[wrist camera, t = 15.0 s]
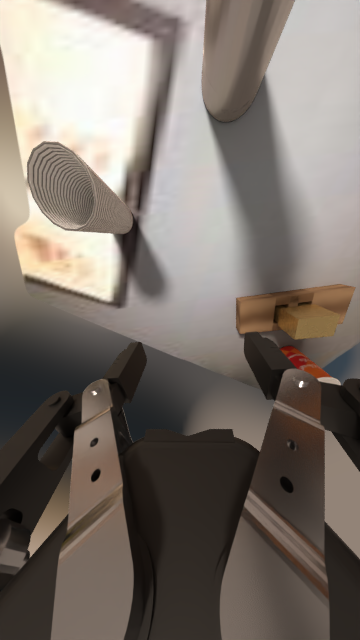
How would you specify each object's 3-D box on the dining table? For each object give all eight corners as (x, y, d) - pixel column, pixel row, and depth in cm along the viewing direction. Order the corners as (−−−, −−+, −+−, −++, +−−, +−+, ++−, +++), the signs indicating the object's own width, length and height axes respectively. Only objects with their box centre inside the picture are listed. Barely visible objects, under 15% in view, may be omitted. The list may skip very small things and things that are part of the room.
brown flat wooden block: (236, 297, 37) (240, 302, 34) (340, 284, 33) (355, 287, 30) (236, 327, 41) (239, 333, 37) (329, 317, 37) (342, 323, 34)
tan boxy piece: (269, 301, 36) (298, 319, 27) (299, 297, 36) (340, 314, 26) (268, 317, 38) (294, 339, 29) (295, 314, 37) (333, 335, 28)
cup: (111, 183, 28) (33, 116, 14) (146, 213, 30) (107, 180, 16) (95, 223, 32) (20, 199, 18) (128, 248, 34) (82, 245, 20)
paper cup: (306, 347, 42) (355, 387, 29) (289, 365, 45) (328, 409, 32) (282, 339, 41) (322, 378, 29) (267, 358, 44) (297, 400, 32)
